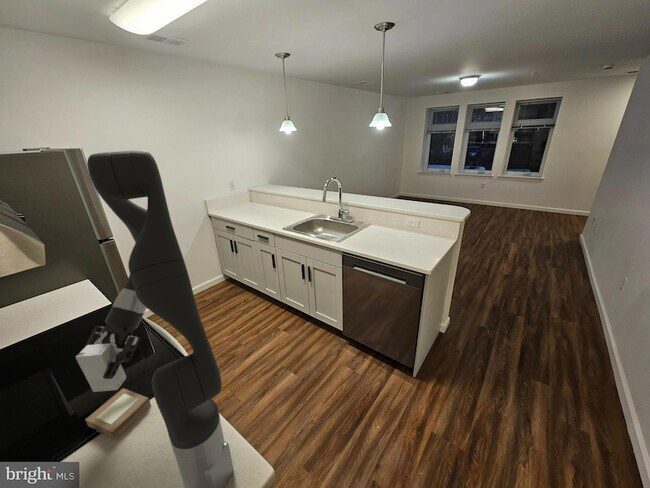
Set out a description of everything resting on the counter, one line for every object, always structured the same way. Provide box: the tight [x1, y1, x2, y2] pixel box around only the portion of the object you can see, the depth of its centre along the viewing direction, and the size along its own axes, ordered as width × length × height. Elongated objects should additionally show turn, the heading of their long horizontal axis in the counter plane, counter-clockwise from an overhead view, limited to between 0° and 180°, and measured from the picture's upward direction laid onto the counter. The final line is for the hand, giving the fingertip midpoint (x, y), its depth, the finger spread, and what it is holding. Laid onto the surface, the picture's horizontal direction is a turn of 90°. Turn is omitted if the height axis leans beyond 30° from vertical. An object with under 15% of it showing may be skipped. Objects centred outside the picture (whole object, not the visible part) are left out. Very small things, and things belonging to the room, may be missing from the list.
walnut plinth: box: [84, 388, 152, 441], centre depth 73 cm, size 10×10×3 cm
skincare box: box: [75, 343, 127, 393], centre depth 67 cm, size 6×4×12 cm
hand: (96, 374), depth 66 cm, fingers closed on skincare box, 7 cm apart
